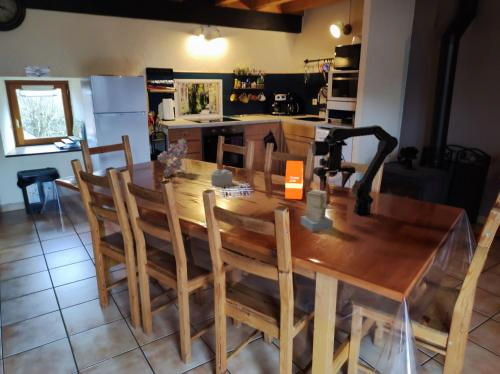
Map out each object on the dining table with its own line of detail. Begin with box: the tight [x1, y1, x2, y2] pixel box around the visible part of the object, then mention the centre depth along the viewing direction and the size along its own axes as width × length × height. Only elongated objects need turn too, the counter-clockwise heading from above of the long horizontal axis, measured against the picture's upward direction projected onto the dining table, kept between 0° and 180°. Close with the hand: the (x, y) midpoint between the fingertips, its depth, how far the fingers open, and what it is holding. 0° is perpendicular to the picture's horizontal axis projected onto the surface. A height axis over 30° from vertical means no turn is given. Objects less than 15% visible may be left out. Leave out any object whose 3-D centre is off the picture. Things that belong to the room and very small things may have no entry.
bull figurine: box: [305, 186, 318, 199], centre depth 191 cm, size 4×13×8 cm, turn 16°
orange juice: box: [284, 160, 304, 200], centre depth 199 cm, size 8×9×20 cm
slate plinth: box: [300, 215, 334, 233], centre depth 160 cm, size 10×10×4 cm
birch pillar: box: [305, 188, 327, 222], centre depth 158 cm, size 6×6×12 cm
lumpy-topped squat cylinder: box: [210, 168, 234, 187], centre depth 227 cm, size 10×13×9 cm
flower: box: [157, 136, 189, 177], centre depth 252 cm, size 20×22×25 cm
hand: (333, 188), depth 170 cm, fingers open, 9 cm apart
